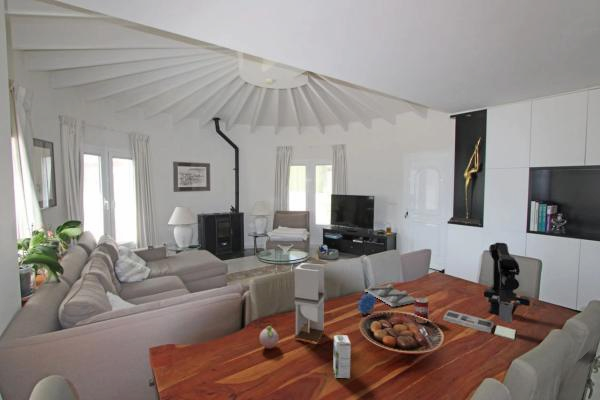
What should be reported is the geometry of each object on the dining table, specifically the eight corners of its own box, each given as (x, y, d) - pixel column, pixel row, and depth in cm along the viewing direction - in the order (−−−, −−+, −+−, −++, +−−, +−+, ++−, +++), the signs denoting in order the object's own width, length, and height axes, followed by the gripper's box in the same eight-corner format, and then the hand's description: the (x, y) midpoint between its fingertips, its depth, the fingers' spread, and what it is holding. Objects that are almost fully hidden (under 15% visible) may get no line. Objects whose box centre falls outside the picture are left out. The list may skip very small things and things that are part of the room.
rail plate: (448, 313, 167) (448, 309, 167) (493, 325, 153) (493, 321, 153) (443, 320, 159) (443, 316, 159) (490, 333, 145) (490, 329, 145)
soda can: (429, 325, 153) (430, 303, 153) (415, 324, 155) (415, 302, 154) (426, 319, 160) (427, 298, 160) (412, 317, 162) (413, 297, 161)
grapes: (371, 309, 173) (371, 289, 172) (377, 314, 167) (378, 293, 166) (354, 312, 169) (354, 292, 168) (360, 317, 163) (360, 296, 162)
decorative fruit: (257, 345, 134) (257, 324, 133) (274, 341, 137) (274, 321, 137) (262, 356, 125) (262, 333, 125) (280, 352, 128) (280, 330, 128)
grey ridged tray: (419, 303, 183) (419, 292, 182) (392, 309, 174) (392, 297, 174) (387, 287, 210) (388, 278, 210) (363, 292, 202) (363, 282, 202)
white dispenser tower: (294, 340, 138) (294, 268, 137) (302, 329, 148) (302, 262, 147) (317, 344, 134) (317, 271, 133) (323, 333, 144) (323, 265, 143)
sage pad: (496, 326, 152) (496, 325, 152) (515, 331, 147) (515, 330, 147) (494, 334, 144) (494, 333, 144) (514, 339, 139) (514, 338, 139)
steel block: (500, 316, 149) (500, 300, 148) (511, 319, 146) (512, 303, 145) (498, 319, 145) (499, 304, 145) (511, 322, 142) (511, 306, 141)
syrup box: (332, 370, 116) (333, 335, 115) (347, 369, 116) (347, 334, 116) (335, 379, 110) (335, 342, 110) (350, 378, 111) (351, 342, 110)
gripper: (482, 283, 144) (481, 313, 145) (530, 292, 132) (528, 325, 133) (485, 277, 153) (484, 306, 154) (530, 285, 141) (529, 316, 142)
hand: (505, 313), depth 145 cm, fingers closed on steel block, 5 cm apart
